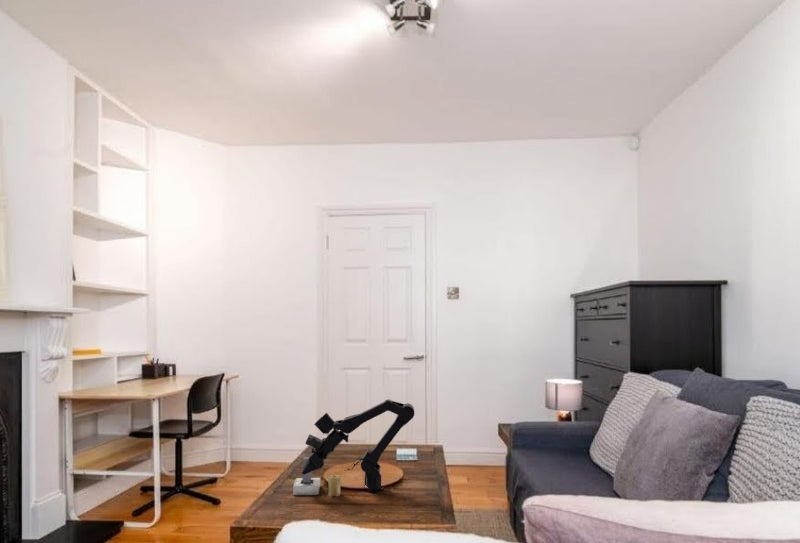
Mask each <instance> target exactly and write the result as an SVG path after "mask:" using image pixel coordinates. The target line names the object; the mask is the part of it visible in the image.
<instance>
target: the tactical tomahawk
mask: <svg viewBox="0 0 800 543" xmlns="http://www.w3.org/2000/svg"><path fill="white" fill-rule="evenodd" d="M361 459H362V456H358V457H357V459H356V460H355V461H354V462H358V463H359V462H360V461H362V460H361Z"/></svg>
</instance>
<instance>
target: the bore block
mask: <svg viewBox="0 0 800 543" xmlns="http://www.w3.org/2000/svg"><path fill="white" fill-rule="evenodd" d="M320 489H321V477H311V484H303V477H296V478H295V480H294V483H293V486H292V491H293V492H292V495H293V496H310V495H311V496H312V495H314V496H315V495H319V493H320Z"/></svg>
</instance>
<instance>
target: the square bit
mask: <svg viewBox="0 0 800 543" xmlns="http://www.w3.org/2000/svg"><path fill="white" fill-rule="evenodd" d="M309 457H310V456H303V458H302V471H303V470H304V469H305V467H306V466H307V464H308V463H309ZM302 478H303V484H311V478H312V471H311V472H309V473H307V474H304V475H303V474H302Z"/></svg>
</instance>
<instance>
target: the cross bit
mask: <svg viewBox="0 0 800 543" xmlns="http://www.w3.org/2000/svg"><path fill="white" fill-rule="evenodd" d="M327 482H328V487H327V488H328V490H327V493H328V494H327V495H328V497H330V498H331V497H337V496H338V497H340V496H341V475H340V474H336V475H333V474H330V475H328V480H327Z"/></svg>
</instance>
